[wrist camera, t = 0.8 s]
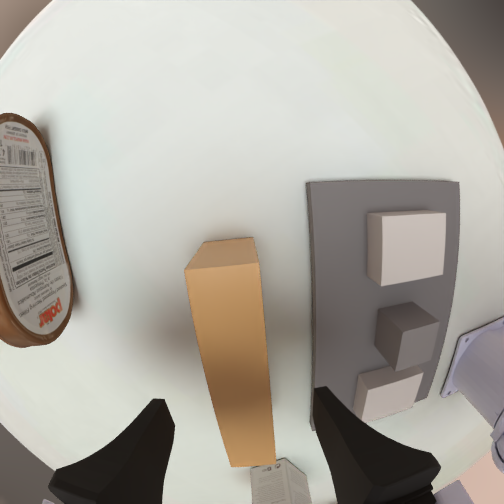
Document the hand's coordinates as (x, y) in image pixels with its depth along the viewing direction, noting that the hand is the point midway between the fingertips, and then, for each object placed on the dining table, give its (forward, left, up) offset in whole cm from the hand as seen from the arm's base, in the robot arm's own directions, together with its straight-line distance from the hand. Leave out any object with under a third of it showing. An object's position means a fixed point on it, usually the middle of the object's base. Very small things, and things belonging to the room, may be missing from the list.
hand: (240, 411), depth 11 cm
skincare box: (-2, +19, -7) cm, 20 cm away
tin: (+13, -10, -7) cm, 18 cm away
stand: (-11, 0, -7) cm, 13 cm away
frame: (0, 0, -7) cm, 7 cm away
